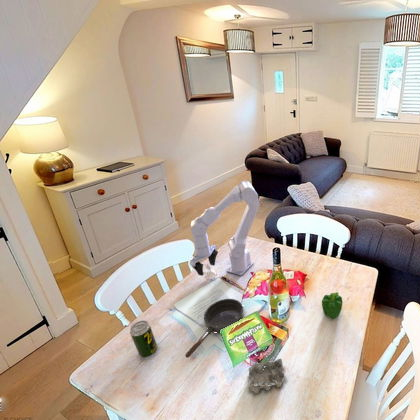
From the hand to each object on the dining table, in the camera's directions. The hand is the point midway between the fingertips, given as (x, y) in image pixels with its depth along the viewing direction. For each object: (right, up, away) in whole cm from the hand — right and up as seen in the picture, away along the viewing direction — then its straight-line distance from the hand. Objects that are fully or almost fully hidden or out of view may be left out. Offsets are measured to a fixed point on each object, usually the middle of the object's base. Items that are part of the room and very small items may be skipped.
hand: (206, 269), depth 124 cm
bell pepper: (+57, -15, -16) cm, 61 cm away
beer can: (-5, -21, -33) cm, 39 cm away
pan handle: (+12, -18, -31) cm, 38 cm away
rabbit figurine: (0, -4, +2) cm, 4 cm away
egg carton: (+36, -26, -40) cm, 59 cm away
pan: (+16, -15, -20) cm, 29 cm away
